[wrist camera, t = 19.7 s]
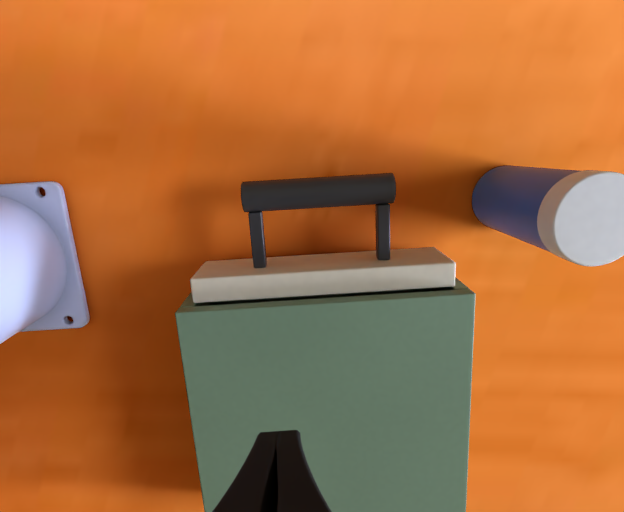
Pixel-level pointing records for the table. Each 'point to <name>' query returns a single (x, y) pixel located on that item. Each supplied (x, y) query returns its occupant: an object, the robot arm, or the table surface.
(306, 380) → the cabinet
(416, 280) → the drawer
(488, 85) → the table surface
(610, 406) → the table surface
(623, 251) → the medicine bottle
